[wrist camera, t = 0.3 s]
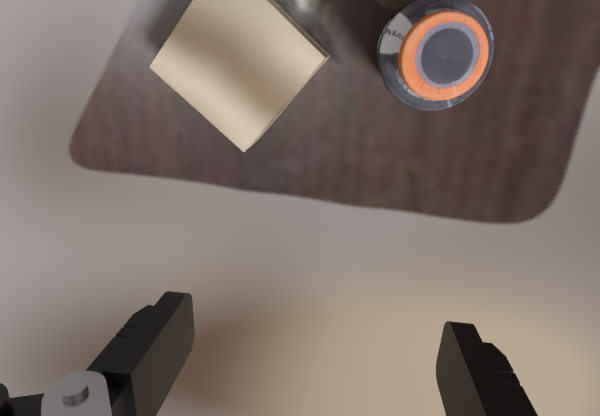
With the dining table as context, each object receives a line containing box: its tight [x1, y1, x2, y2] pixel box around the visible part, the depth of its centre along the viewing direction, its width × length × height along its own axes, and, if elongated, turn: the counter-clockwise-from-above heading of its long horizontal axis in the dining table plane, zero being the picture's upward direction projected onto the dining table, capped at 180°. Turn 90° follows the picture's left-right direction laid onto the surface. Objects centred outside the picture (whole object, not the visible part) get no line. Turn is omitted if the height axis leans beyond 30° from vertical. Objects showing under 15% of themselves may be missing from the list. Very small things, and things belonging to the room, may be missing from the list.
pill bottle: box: [376, 0, 494, 111], centre depth 23 cm, size 6×6×11 cm
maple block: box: [150, 0, 331, 152], centre depth 29 cm, size 9×9×4 cm
